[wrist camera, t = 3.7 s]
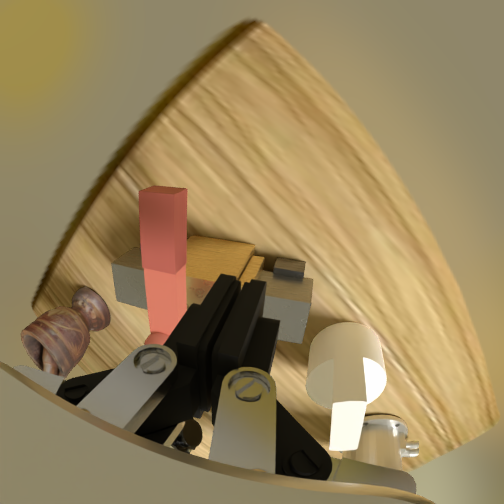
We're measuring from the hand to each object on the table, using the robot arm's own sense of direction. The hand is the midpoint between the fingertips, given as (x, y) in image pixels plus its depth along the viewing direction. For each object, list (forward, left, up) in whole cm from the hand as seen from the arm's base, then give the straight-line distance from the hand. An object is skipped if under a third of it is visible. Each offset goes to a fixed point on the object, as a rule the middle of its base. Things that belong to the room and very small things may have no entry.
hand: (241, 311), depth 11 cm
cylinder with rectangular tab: (-9, +17, -20) cm, 28 cm away
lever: (+7, +4, -8) cm, 11 cm away
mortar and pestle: (+27, +21, -20) cm, 40 cm away
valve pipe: (+7, +9, -20) cm, 23 cm away
